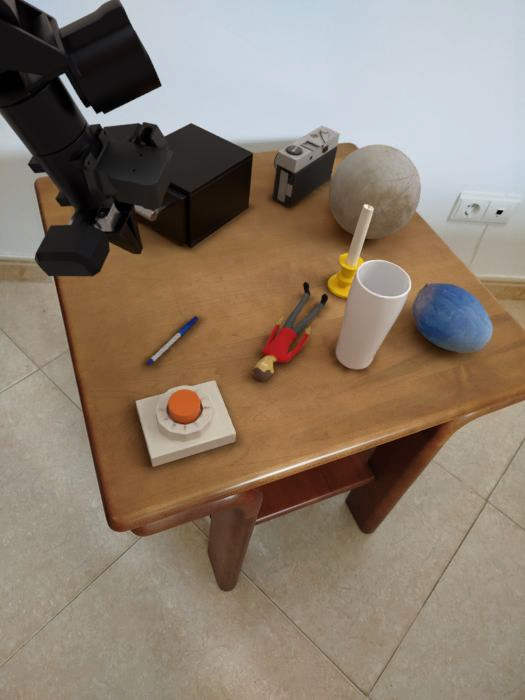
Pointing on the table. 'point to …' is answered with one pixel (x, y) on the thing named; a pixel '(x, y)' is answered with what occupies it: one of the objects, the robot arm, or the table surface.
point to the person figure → (286, 337)
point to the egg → (451, 318)
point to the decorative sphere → (375, 189)
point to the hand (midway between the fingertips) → (138, 251)
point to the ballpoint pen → (173, 340)
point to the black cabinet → (209, 179)
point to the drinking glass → (371, 311)
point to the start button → (184, 406)
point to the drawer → (168, 216)
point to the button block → (185, 425)
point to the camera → (304, 165)
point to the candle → (351, 257)
